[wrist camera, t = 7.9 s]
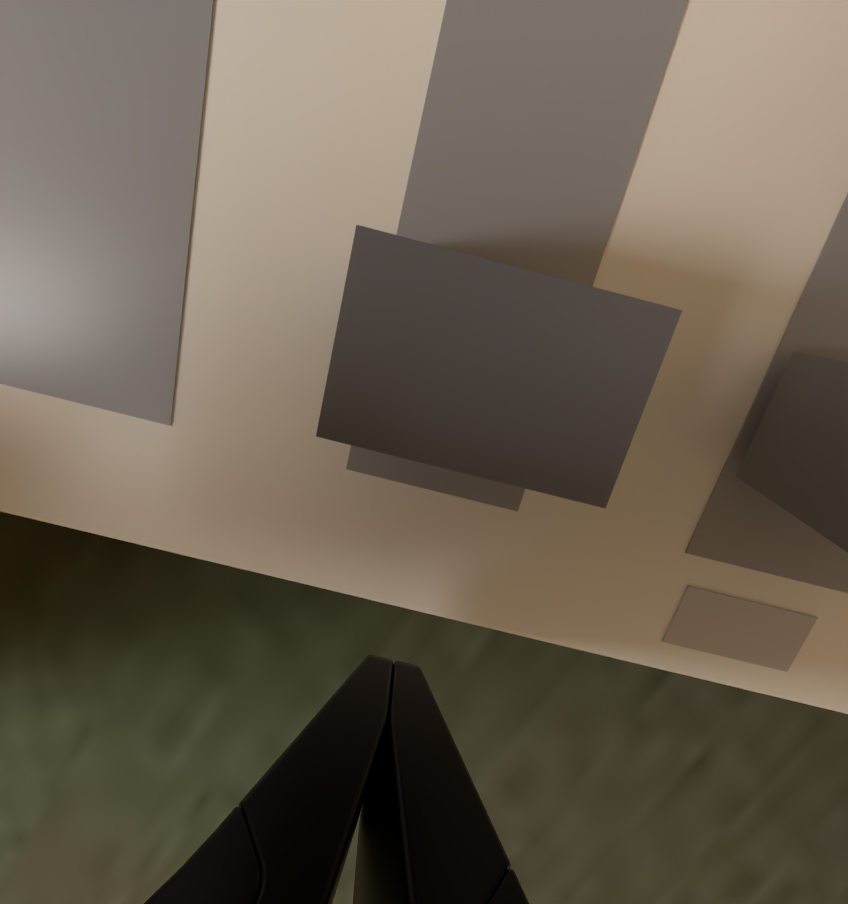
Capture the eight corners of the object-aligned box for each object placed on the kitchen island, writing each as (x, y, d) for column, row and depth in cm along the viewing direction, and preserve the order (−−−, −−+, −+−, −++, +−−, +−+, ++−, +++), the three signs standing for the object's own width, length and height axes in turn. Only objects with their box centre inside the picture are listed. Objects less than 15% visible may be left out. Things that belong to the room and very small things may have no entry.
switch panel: (-1, 454, 11) (-92, 490, 9) (-6, -513, 7) (-177, -812, 5) (796, 648, 12) (863, 718, 10) (1237, -135, 8) (1503, -275, 6)
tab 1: (361, 381, 8) (316, 436, 5) (391, 245, 8) (356, 224, 5) (551, 429, 8) (604, 508, 5) (595, 298, 8) (682, 310, 5)
